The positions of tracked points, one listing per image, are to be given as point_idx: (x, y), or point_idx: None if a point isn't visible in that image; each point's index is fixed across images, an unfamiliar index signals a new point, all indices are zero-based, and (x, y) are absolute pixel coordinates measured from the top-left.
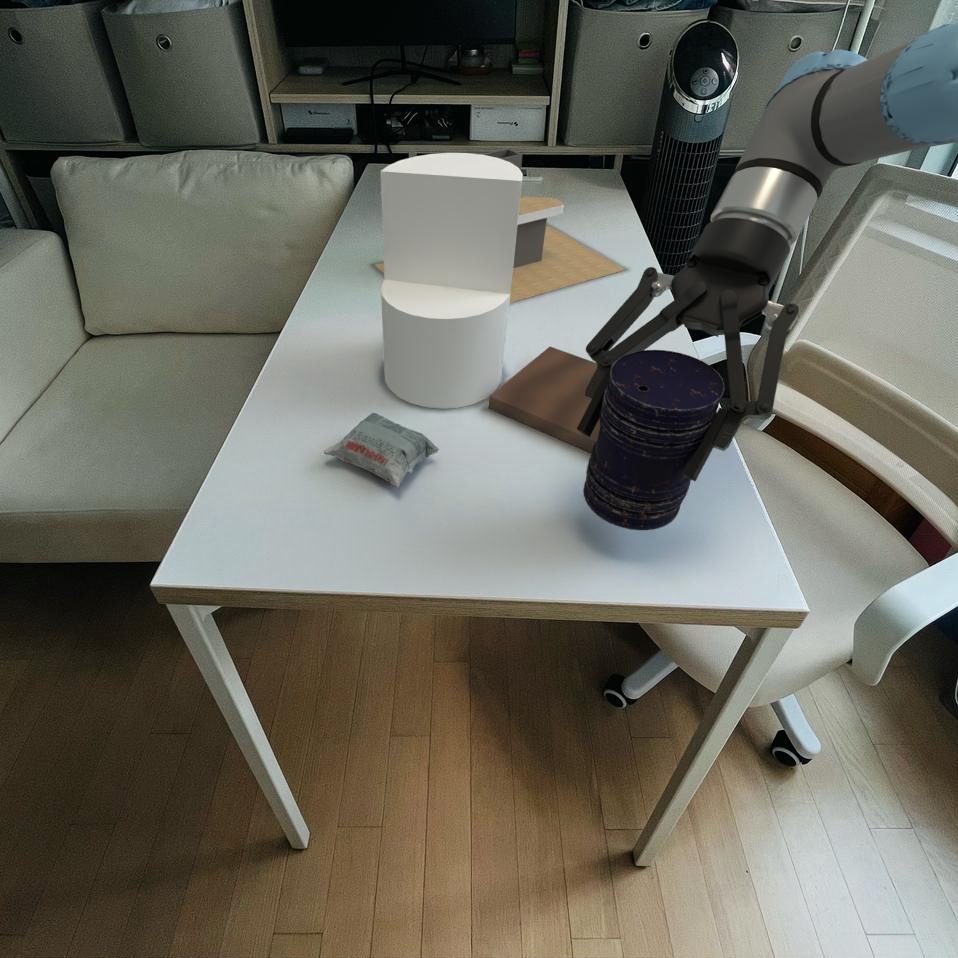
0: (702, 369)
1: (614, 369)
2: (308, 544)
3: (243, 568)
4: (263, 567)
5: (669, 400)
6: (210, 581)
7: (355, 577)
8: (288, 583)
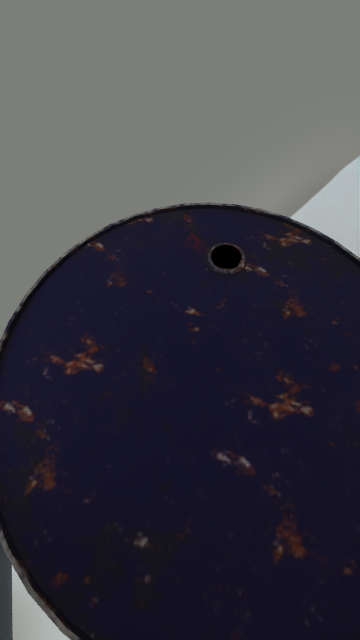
0: (126, 581)
1: None
2: (356, 212)
3: (357, 176)
4: (350, 184)
5: (133, 265)
6: (356, 160)
7: (303, 218)
8: (326, 188)
